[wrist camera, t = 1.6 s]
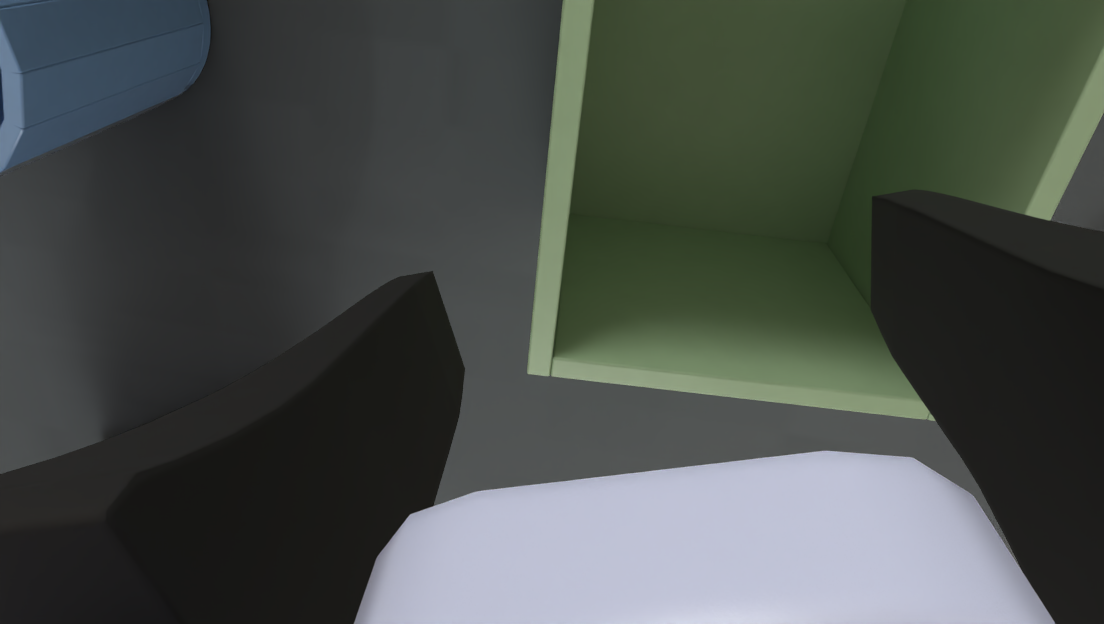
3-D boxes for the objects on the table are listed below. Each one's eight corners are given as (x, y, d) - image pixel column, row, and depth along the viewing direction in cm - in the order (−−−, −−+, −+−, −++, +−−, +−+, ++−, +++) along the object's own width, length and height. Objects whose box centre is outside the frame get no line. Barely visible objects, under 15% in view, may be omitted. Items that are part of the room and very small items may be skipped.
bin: (551, 219, 22) (526, 374, 15) (596, -210, 16) (593, -307, 9) (833, 252, 22) (950, 423, 15) (973, -167, 16) (1275, -231, 9)
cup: (107, 136, 21) (-106, 233, 15) (-39, -52, 19) (-370, -33, 13) (252, 55, 20) (85, 123, 14) (114, -160, 18) (-172, -202, 11)
